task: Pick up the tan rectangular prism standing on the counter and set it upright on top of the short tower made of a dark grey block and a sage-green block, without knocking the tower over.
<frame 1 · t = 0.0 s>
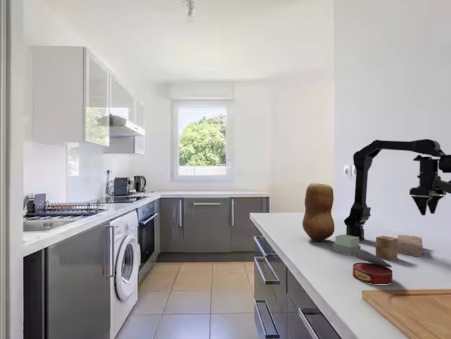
hand: (428, 214, 106), 15 cm above the worktop, tool pointing down, fingers open, 9 cm apart
butternut squash: (317, 240, 123), on the worktop
top block: (347, 244, 106), point 2 cm above the worktop, touching base block
base block: (346, 252, 106), on the worktop, touching top block
brick: (409, 251, 110), on the worktop
tan rectangular prism: (386, 257, 99), on the worktop
canned food: (371, 279, 79), on the worktop
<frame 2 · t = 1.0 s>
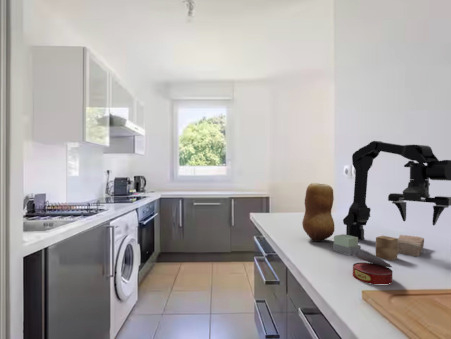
hand: (418, 223, 101), 12 cm above the worktop, tool pointing down, fingers open, 9 cm apart
nothing on the worktop moved.
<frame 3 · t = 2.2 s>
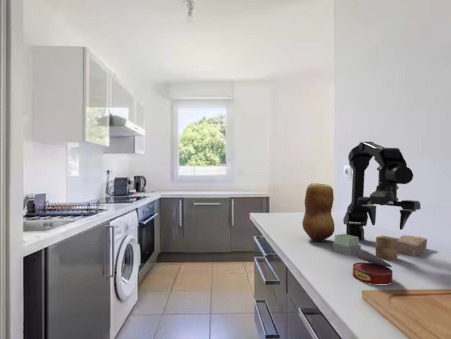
hand: (386, 227, 99), 11 cm above the worktop, tool pointing down, fingers open, 9 cm apart
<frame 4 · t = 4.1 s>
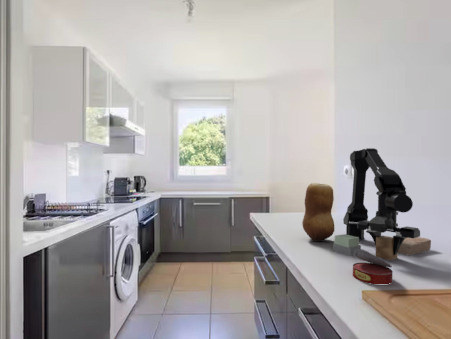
hand: (386, 253, 99), 2 cm above the worktop, tool pointing down, fingers closed on tan rectangular prism, 5 cm apart
tan rectangular prism: (386, 257, 99), on the worktop, touching gripper
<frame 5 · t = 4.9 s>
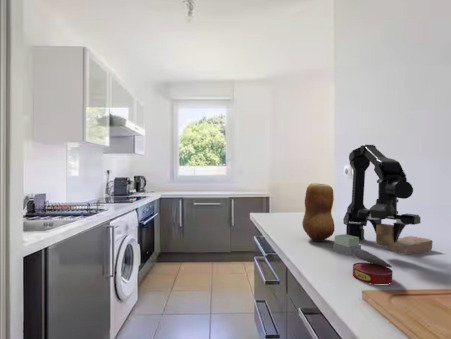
hand: (386, 240, 99), 6 cm above the worktop, tool pointing down, fingers closed on tan rectangular prism, 5 cm apart
top block: (346, 244, 106), point 3 cm above the worktop
base block: (346, 252, 106), on the worktop
tan rectangular prism: (386, 245, 99), point 4 cm above the worktop, touching gripper
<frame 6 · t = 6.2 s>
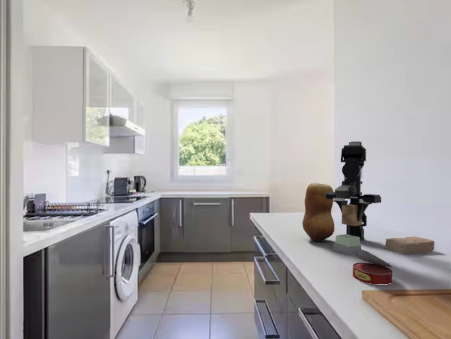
hand: (351, 220, 105), 12 cm above the worktop, tool pointing down, fingers closed on tan rectangular prism, 5 cm apart
top block: (347, 244, 106), point 3 cm above the worktop, touching base block
base block: (347, 252, 106), on the worktop, touching top block
tan rectangular prism: (351, 224, 105), point 10 cm above the worktop, touching gripper
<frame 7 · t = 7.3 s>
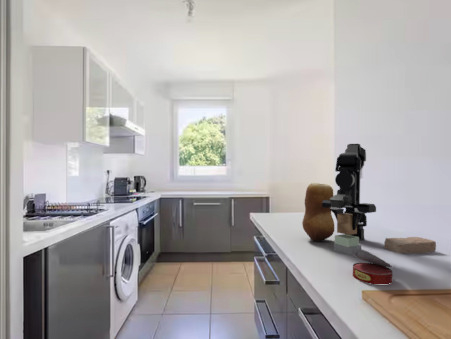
hand: (347, 228, 106), 8 cm above the worktop, tool pointing down, fingers closed on tan rectangular prism, 5 cm apart
tan rectangular prism: (346, 232, 106), point 7 cm above the worktop, touching gripper
when the fingers open (8 cm above the worktop, at t = 7.9 s): tan rectangular prism drops 1 cm, resting on top block.
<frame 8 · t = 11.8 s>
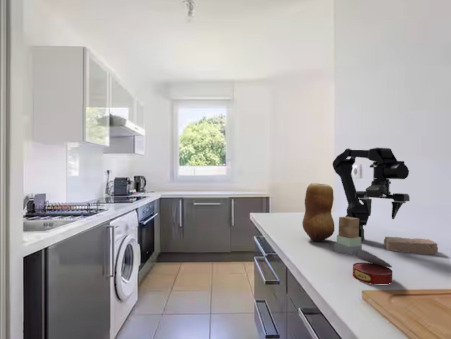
hand: (380, 217, 113), 12 cm above the worktop, tool pointing down, fingers open, 9 cm apart
top block: (348, 244, 106), point 3 cm above the worktop, touching tan rectangular prism
base block: (347, 252, 106), on the worktop
tan rectangular prism: (348, 236, 106), point 6 cm above the worktop, touching top block
at the end: tan rectangular prism 0.2 cm from the base block (horizontally); tan rectangular prism point 5.6 cm above the worktop; top block point 2.5 cm above the worktop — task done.
